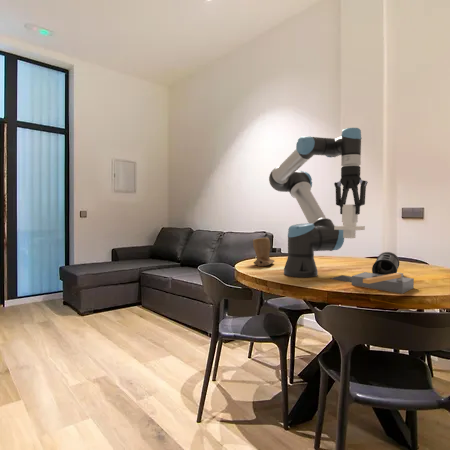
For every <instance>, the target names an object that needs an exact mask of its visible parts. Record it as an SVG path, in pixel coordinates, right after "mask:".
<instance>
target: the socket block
mask: <svg viewBox="0 0 450 450" xmlns="http://www.w3.org/2000/svg"><path fill="white" fill-rule="evenodd" d="M382 275H383V274H376V273H372V272H367V271H364V272H361V273H357V274H354V275H352V276H351V277H352V282H351V286H355V287H361V288H368V289H374V290H378V291H386V292H390V293H395V294H396V293H397V294H401V295H402V294H404V293H407V292H408V291H411V290H412V289H414V284H415V281H414V278H411V277H405V276H403V277H401V278H396V279H390V280H385V281H380V282H375V283H370V284H367V283H363V279H366V278H371V277H377V276H382Z"/></svg>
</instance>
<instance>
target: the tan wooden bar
mask: <svg viewBox="0 0 450 450" xmlns="http://www.w3.org/2000/svg"><path fill="white" fill-rule="evenodd" d="M401 277H404V273H402V272H397V273H393V274H388V275H382V276H377V277H371V278H366V279H363V283H367V284H370V283H375V282H380V281H385V280H390V279H396V278H401Z"/></svg>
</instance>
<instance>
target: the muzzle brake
mask: <svg viewBox="0 0 450 450" xmlns="http://www.w3.org/2000/svg"><path fill="white" fill-rule="evenodd" d="M399 268H400V259H399V257H398V256H397V255H396V254H395V253H393V252H391V251H385V252H382V253H380V254H378V256H377V258H376V260H375V262H374V263H373V264H372V267H371V273H376V274H383V275H388V274H393V273H398V269H399Z"/></svg>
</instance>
